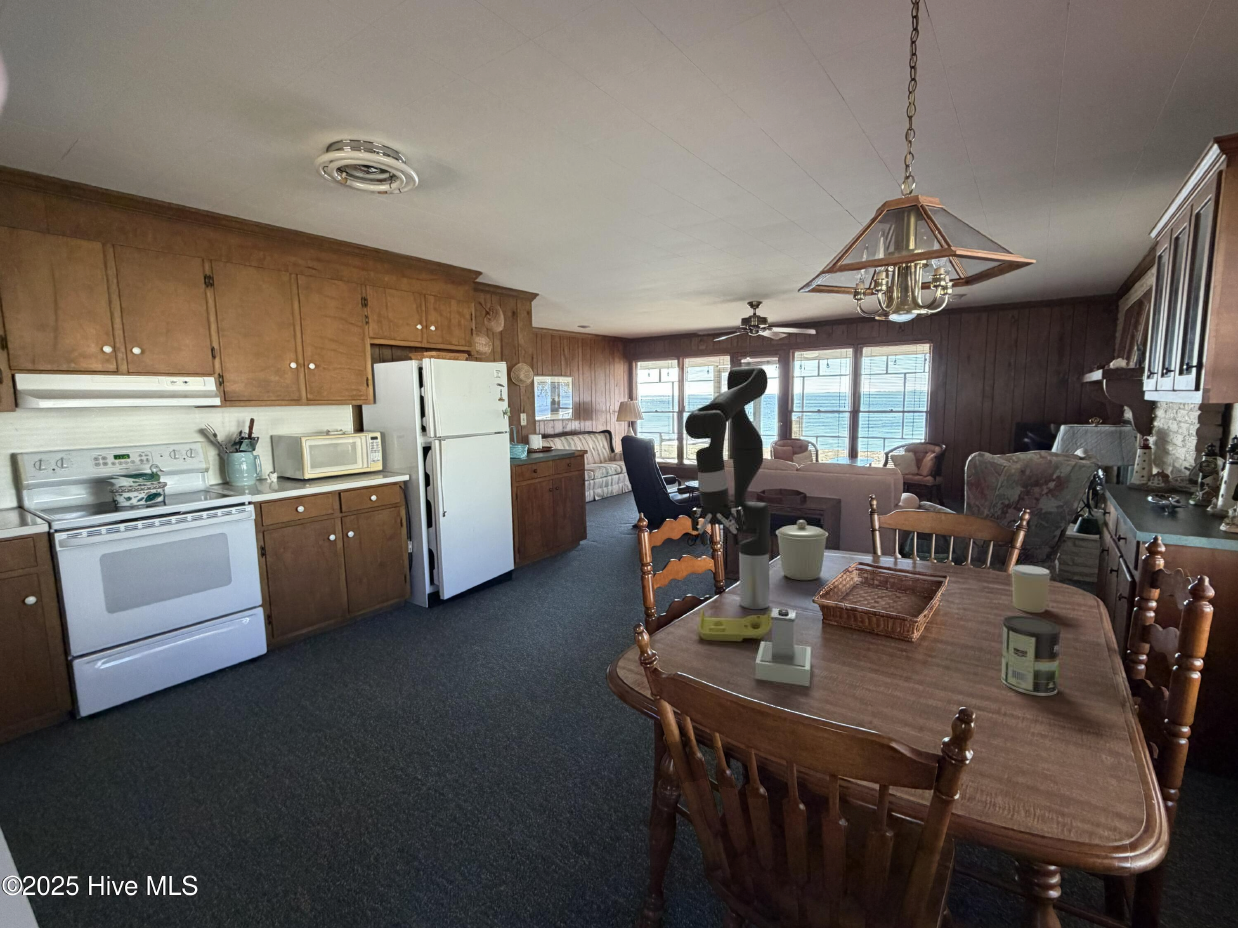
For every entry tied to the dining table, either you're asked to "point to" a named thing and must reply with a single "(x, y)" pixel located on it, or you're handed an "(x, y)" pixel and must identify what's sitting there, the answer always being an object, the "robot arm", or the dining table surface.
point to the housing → (783, 633)
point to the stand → (784, 665)
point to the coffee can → (1030, 655)
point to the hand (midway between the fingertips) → (720, 545)
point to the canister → (801, 550)
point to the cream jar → (1030, 588)
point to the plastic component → (734, 627)
